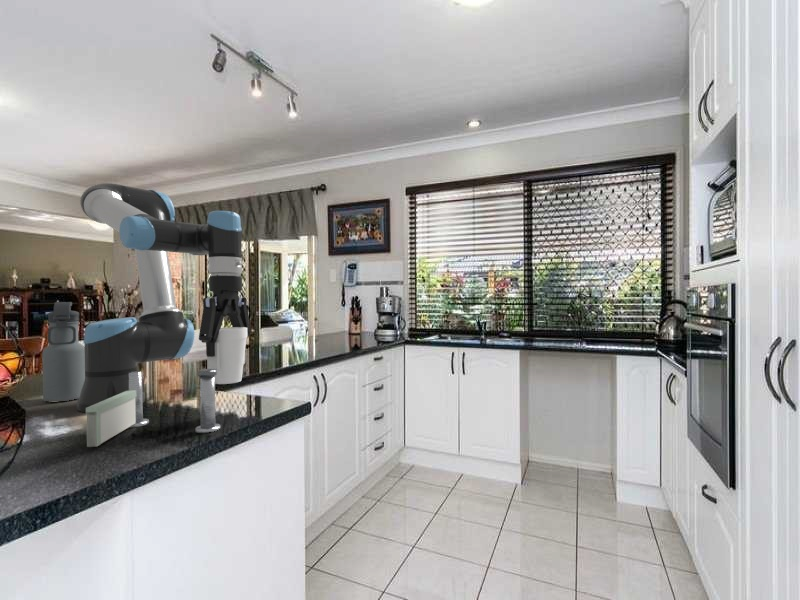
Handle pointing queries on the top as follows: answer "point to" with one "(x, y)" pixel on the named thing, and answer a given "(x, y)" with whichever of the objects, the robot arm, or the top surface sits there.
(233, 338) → the foam cup
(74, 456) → the top surface
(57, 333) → the water bottle
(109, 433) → the gate
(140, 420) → the hinge post
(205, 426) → the post
